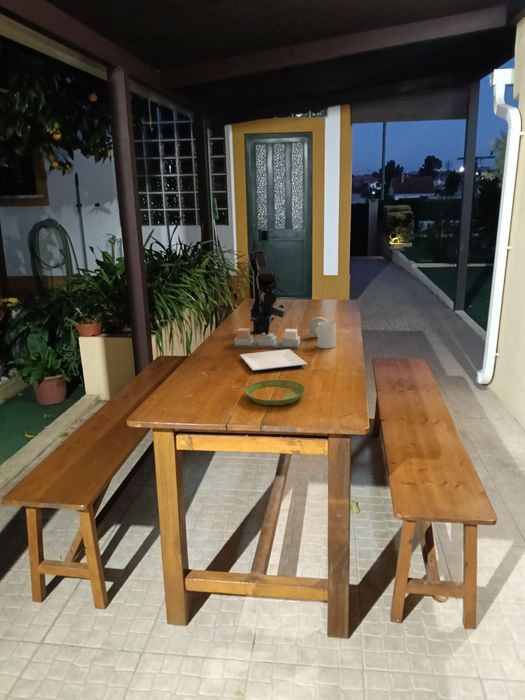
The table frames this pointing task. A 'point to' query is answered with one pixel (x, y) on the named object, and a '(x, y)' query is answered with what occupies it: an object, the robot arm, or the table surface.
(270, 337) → the sage button
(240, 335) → the terracotta button
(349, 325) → the table surface
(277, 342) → the button panel
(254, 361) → the plate
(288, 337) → the cream button
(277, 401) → the saucer
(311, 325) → the donut
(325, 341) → the mug
